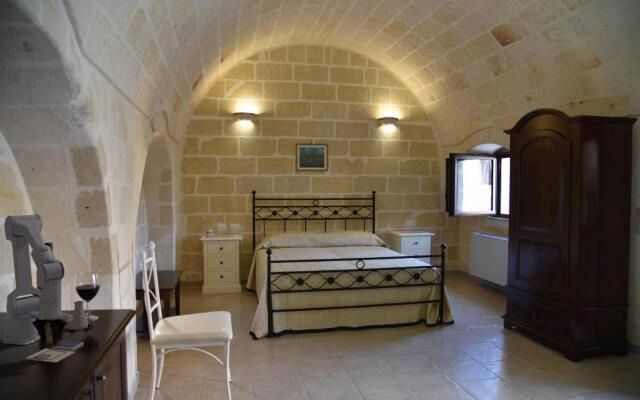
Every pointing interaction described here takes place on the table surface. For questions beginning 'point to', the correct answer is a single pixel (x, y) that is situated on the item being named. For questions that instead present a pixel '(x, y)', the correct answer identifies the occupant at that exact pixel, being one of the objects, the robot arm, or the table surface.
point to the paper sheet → (50, 355)
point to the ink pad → (69, 345)
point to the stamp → (50, 337)
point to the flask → (78, 317)
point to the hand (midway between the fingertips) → (50, 341)
